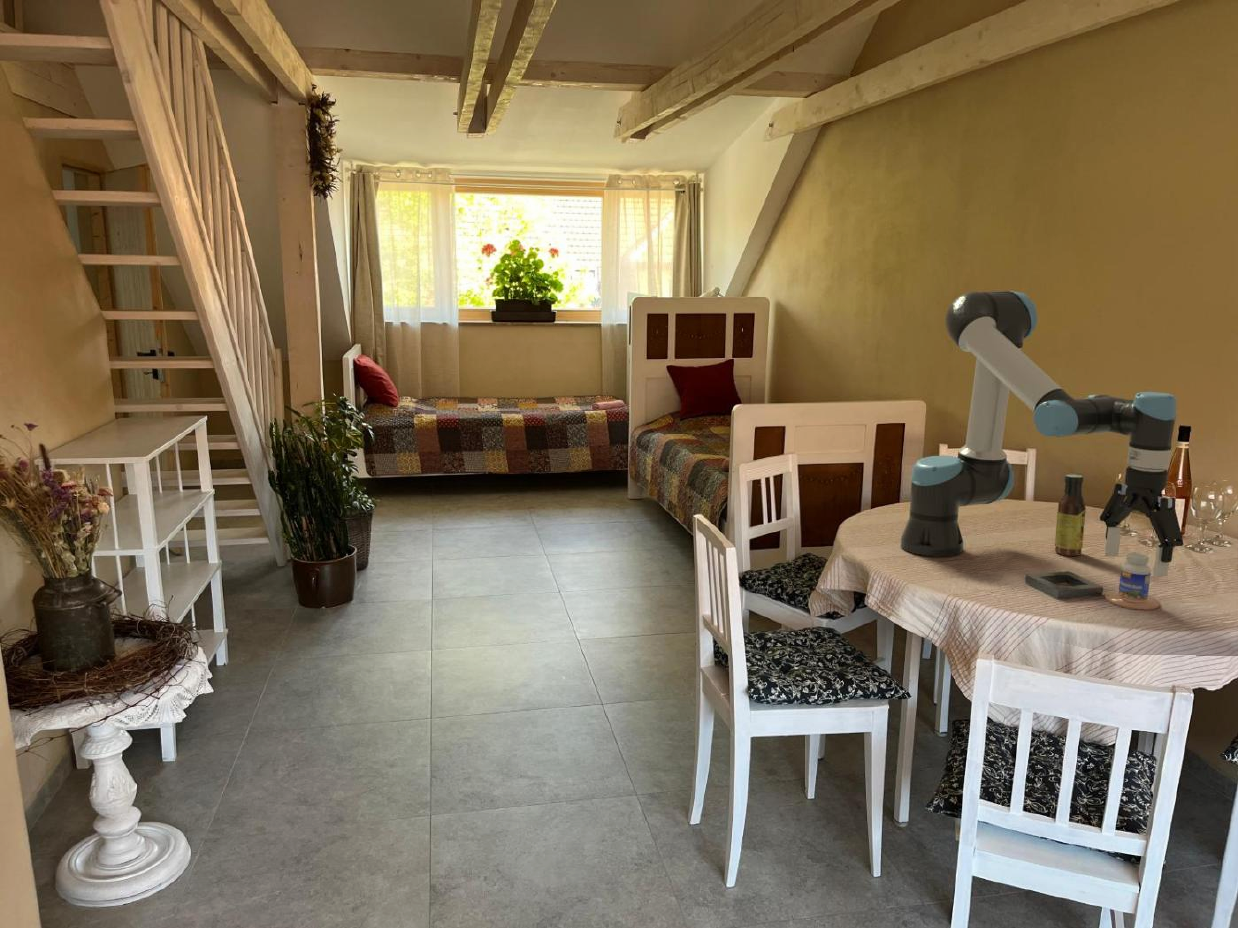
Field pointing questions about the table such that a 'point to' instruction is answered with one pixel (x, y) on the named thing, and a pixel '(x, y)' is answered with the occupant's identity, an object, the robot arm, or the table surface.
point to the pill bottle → (1135, 578)
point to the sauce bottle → (1070, 518)
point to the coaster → (1147, 605)
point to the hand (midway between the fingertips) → (1134, 565)
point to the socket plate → (1076, 590)
